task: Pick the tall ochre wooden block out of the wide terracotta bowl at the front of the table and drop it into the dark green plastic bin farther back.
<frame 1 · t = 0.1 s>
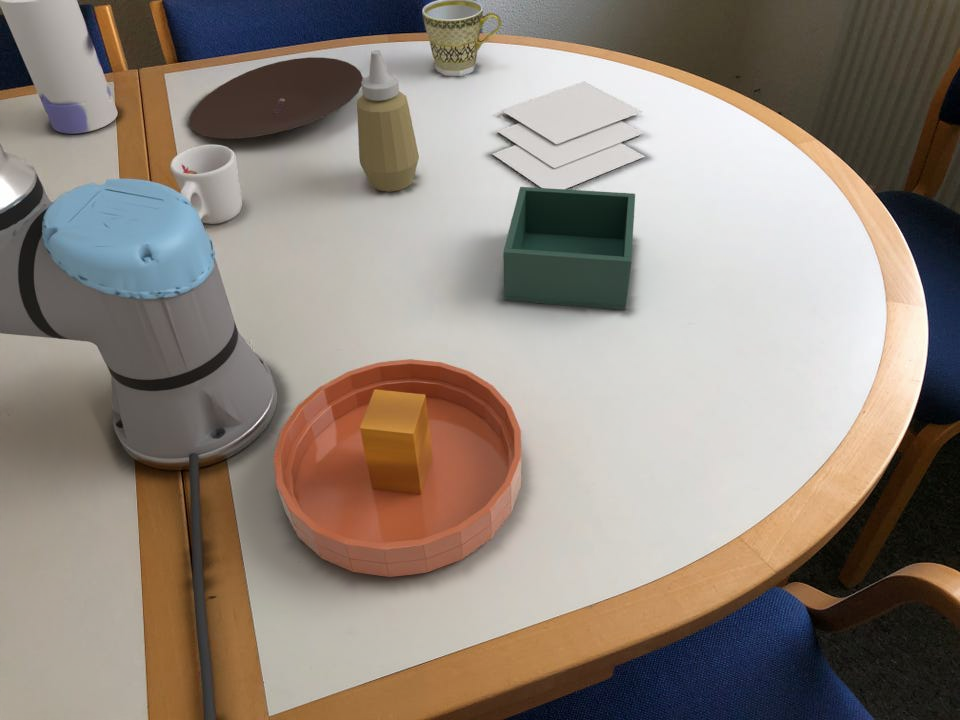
container: (86, 121, 127), on the table
bin: (569, 269, 93), on the table
plate: (279, 110, 127), on the table
bowl: (403, 476, 72), on the table
cup: (214, 220, 104), on the table
ceramic cup: (464, 70, 136), on the table
block: (402, 472, 71), point 1 cm above the table, touching bowl
paper stack: (569, 135, 118), on the table
squeeze bottle: (392, 183, 110), on the table
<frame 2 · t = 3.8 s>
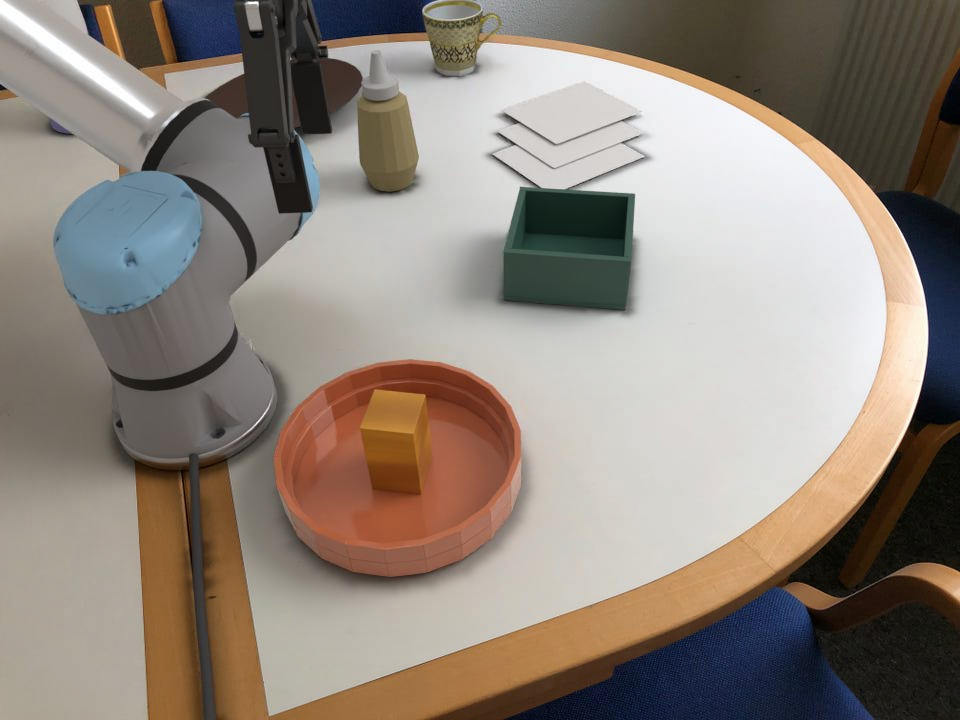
hand: (307, 169, 70), 21 cm above the table, tool pointing down, fingers open, 13 cm apart
nothing on the table moved.
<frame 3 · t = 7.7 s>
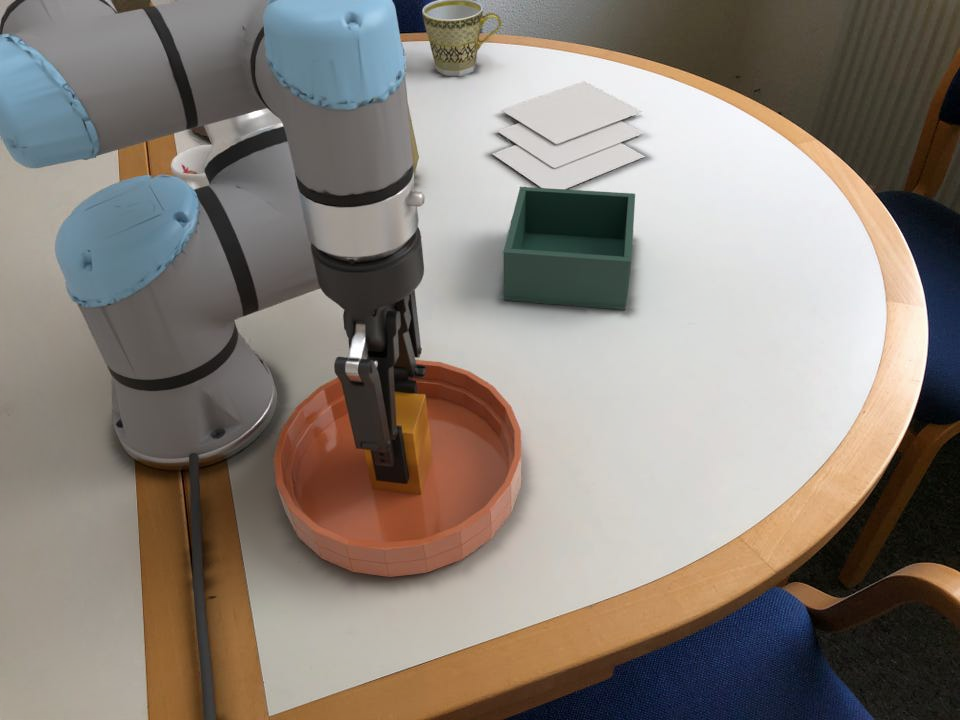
hand: (400, 455, 70), 3 cm above the table, tool pointing down, fingers closed on block, 4 cm apart
block: (402, 471, 71), point 1 cm above the table, touching bowl, gripper
everything else where it was.
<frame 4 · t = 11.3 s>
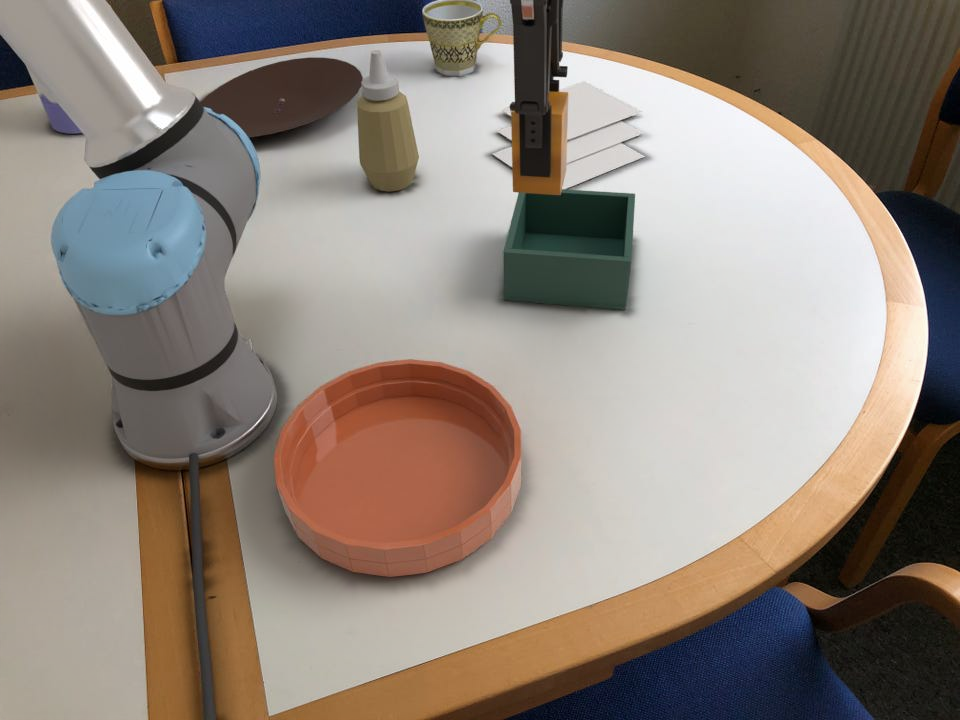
hand: (539, 159, 74), 19 cm above the table, tool pointing down, fingers closed on block, 4 cm apart
block: (540, 181, 76), point 17 cm above the table, touching gripper
everything else where it was.
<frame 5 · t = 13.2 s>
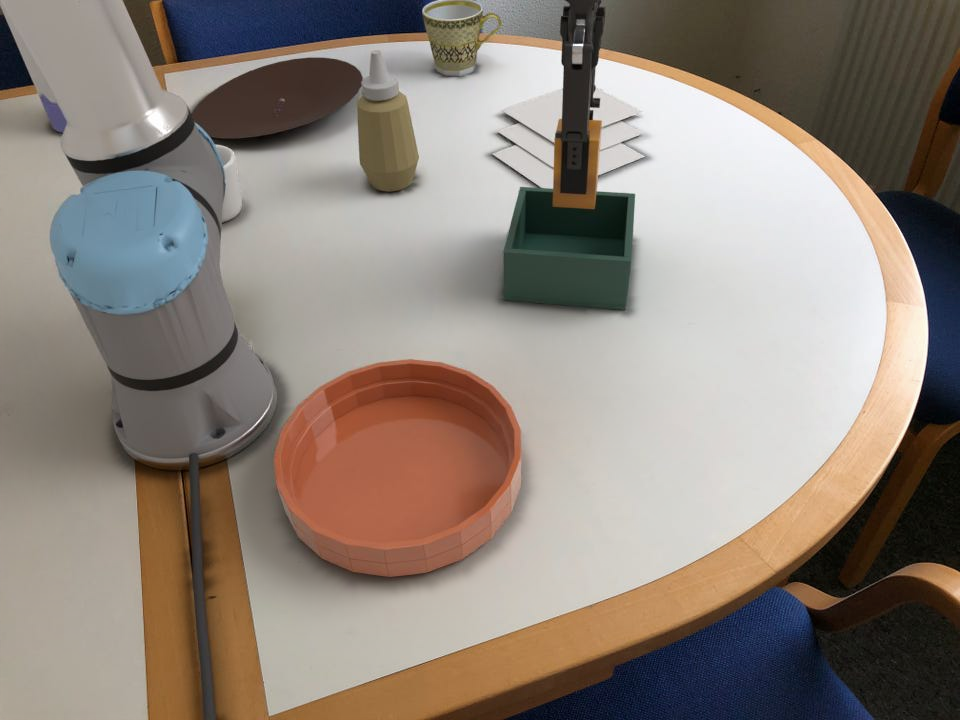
hand: (575, 178, 85), 12 cm above the table, tool pointing down, fingers closed on block, 4 cm apart
block: (575, 197, 87), point 10 cm above the table, touching gripper
everything else where it was.
when the fingers open (7 cm above the table, at t = 15.0 s): block drops 4 cm, resting on bin.
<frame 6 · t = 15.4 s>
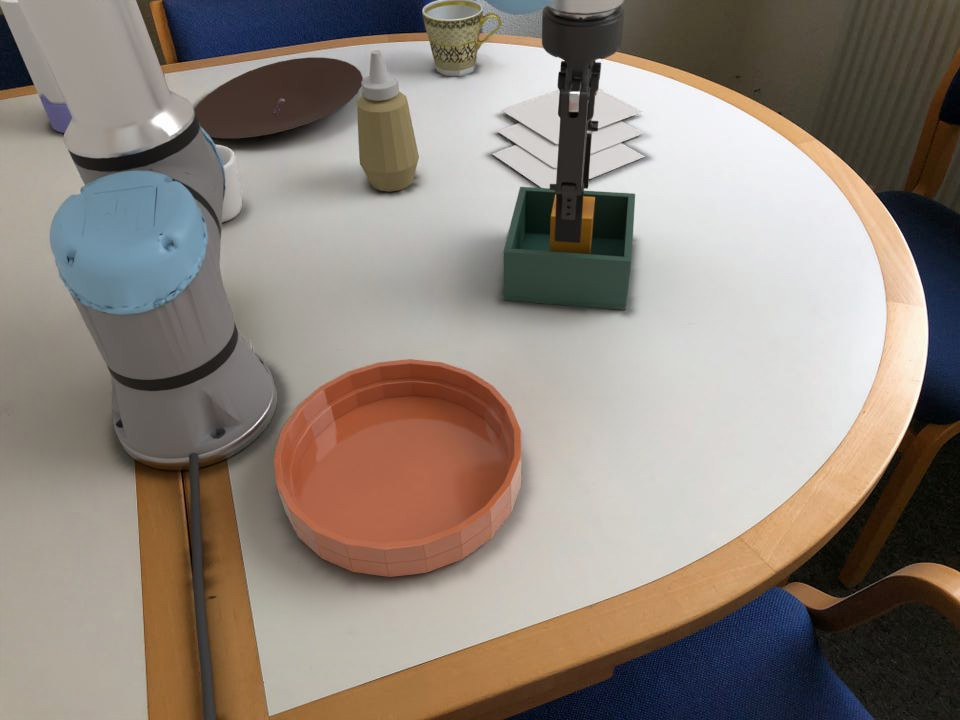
hand: (572, 212, 88), 8 cm above the table, tool pointing down, fingers open, 10 cm apart
block: (570, 265, 93), point 1 cm above the table, touching bin
everything else where it was.
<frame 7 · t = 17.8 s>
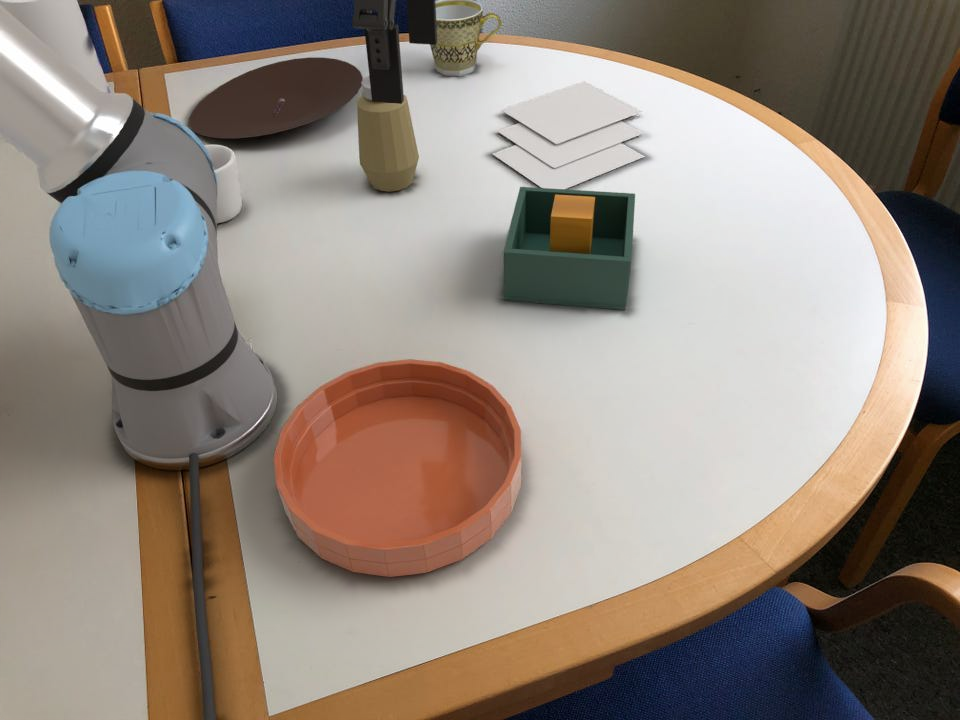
hand: (406, 70, 75), 25 cm above the table, tool pointing down, fingers open, 13 cm apart
nothing on the table moved.
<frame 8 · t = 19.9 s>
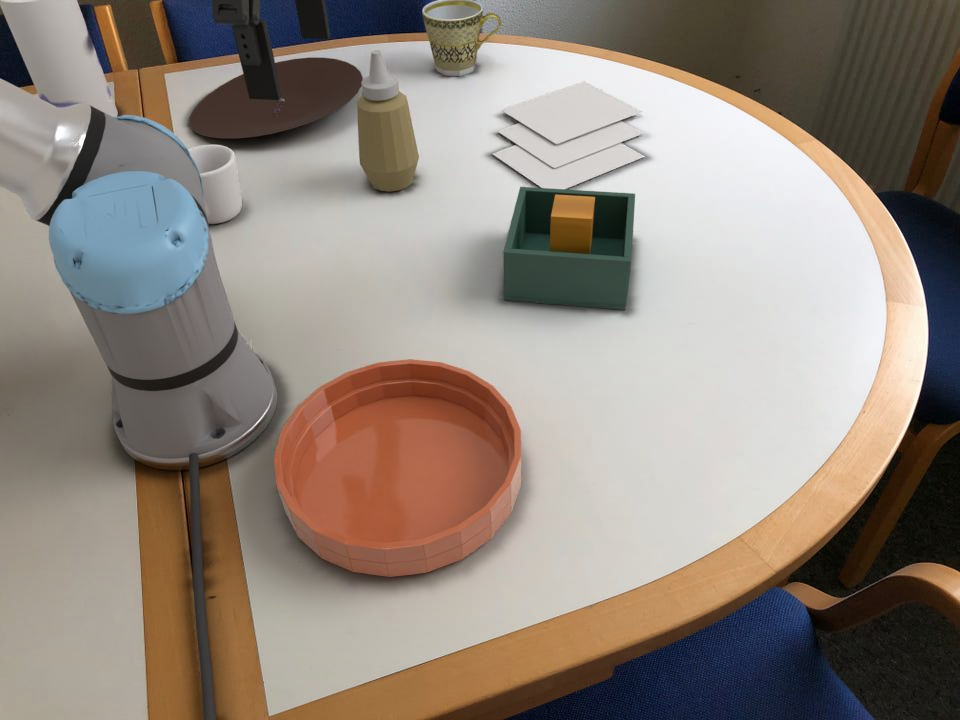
hand: (292, 65, 73), 27 cm above the table, tool pointing down, fingers open, 13 cm apart
nothing on the table moved.
at the end: block inside the target area in the bin (0.0 cm from its centre), point 0.6 cm above the bin's base; the gripper is holding nothing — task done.
